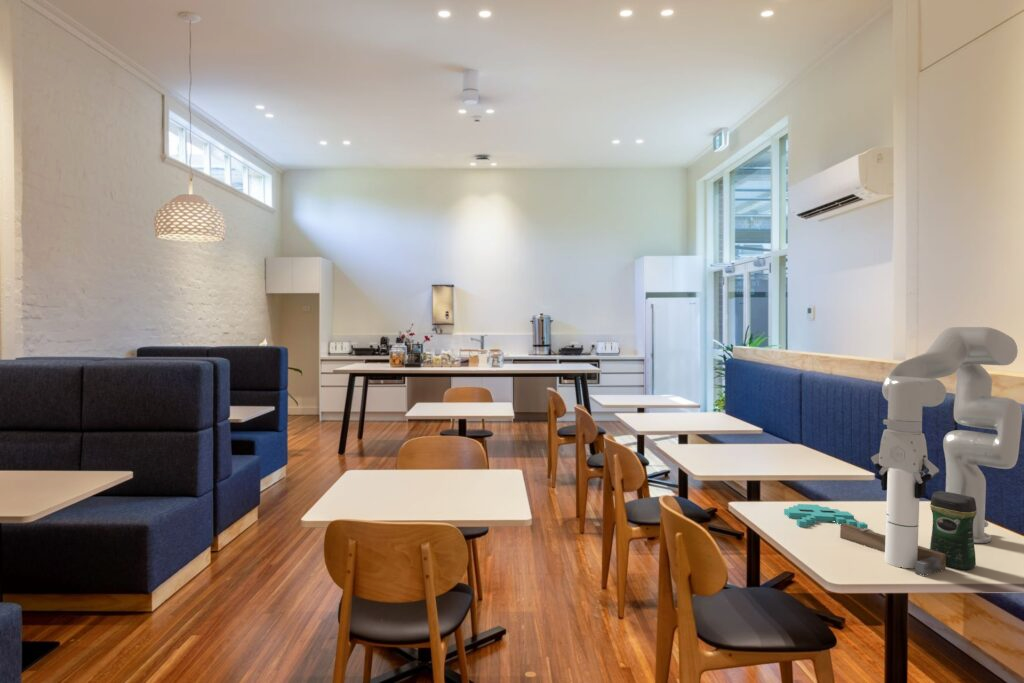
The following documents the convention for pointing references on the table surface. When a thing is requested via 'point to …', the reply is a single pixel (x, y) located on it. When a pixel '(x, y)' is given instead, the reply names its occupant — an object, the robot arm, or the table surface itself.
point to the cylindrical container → (901, 519)
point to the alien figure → (820, 515)
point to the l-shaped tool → (926, 557)
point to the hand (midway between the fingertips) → (902, 493)
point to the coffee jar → (954, 528)
